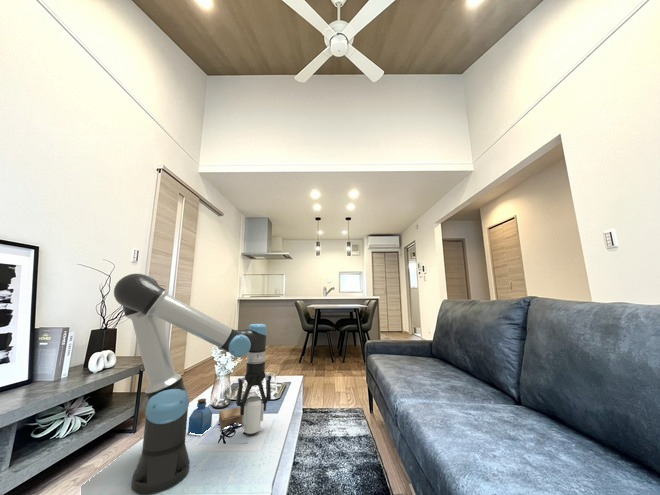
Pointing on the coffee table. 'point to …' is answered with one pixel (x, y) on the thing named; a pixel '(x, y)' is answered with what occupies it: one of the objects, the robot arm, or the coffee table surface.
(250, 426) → the can
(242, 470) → the coffee table surface
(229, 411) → the plinth
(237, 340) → the robot arm
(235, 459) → the coffee table surface
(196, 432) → the perfume bottle
